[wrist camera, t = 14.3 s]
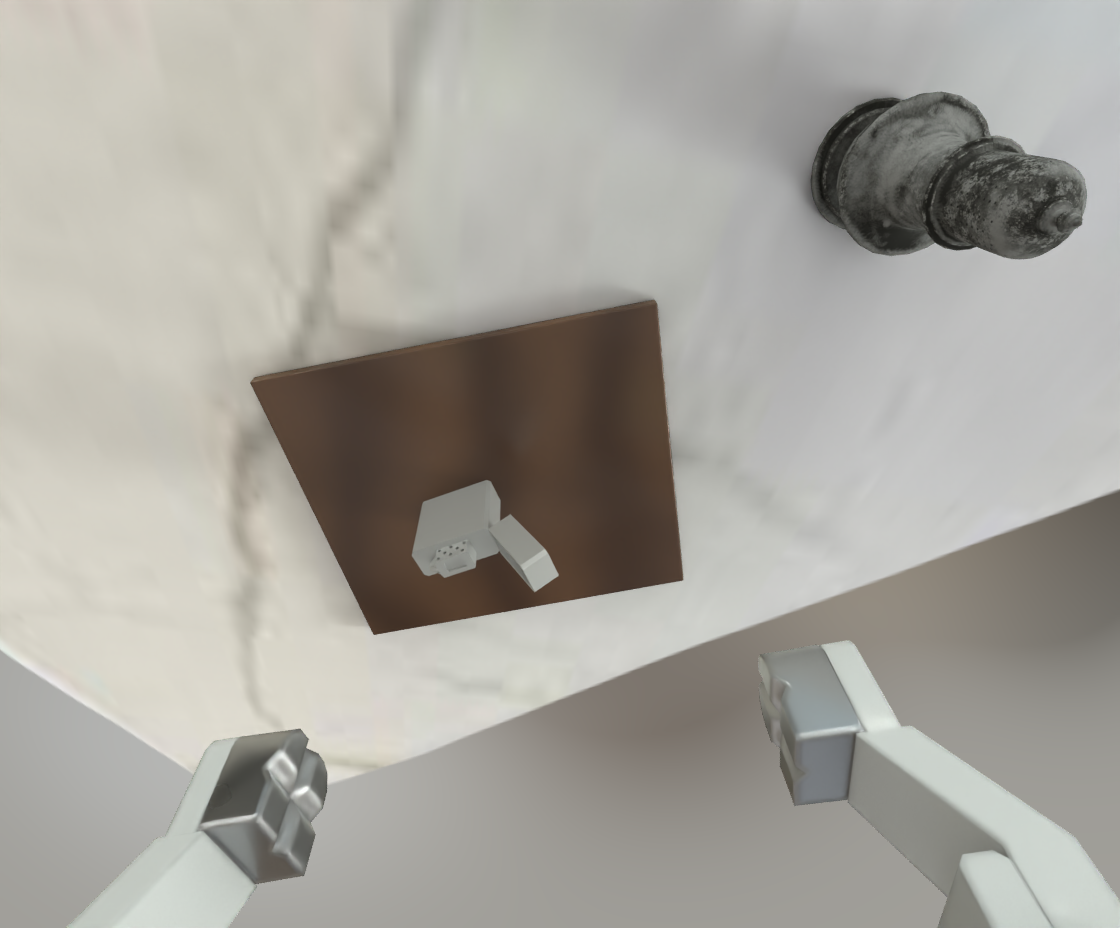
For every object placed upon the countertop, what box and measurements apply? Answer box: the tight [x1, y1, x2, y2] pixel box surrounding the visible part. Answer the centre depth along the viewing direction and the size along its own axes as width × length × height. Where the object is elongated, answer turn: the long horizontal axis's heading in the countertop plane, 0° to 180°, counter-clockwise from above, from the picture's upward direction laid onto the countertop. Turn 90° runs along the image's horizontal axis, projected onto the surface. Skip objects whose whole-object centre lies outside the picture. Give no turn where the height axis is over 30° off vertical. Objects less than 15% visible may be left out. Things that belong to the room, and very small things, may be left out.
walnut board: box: [251, 300, 683, 635], centre depth 35 cm, size 20×18×1 cm
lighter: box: [412, 480, 559, 592], centre depth 31 cm, size 7×2×8 cm, turn 110°
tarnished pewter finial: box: [811, 92, 1087, 259], centre depth 22 cm, size 6×6×12 cm
